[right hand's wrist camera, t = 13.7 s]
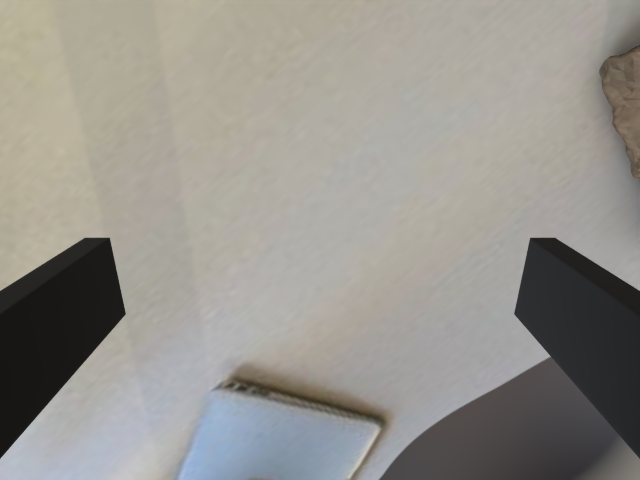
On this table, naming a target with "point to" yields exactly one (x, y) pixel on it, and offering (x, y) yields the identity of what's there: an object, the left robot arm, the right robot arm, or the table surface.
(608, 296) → the right robot arm
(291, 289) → the table surface
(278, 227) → the table surface
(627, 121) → the stone
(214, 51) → the table surface
